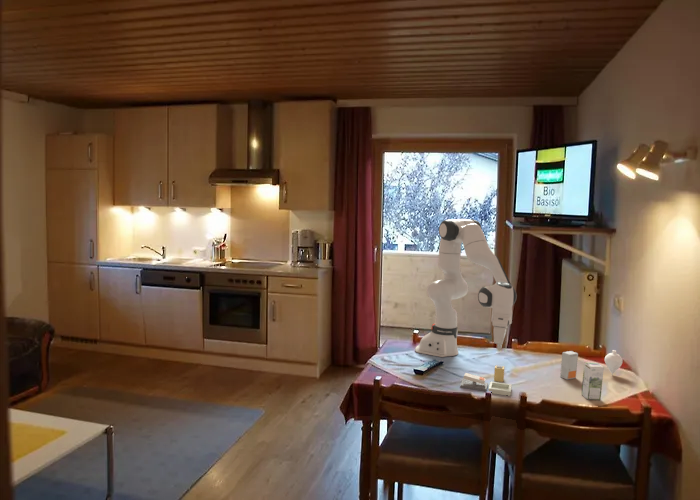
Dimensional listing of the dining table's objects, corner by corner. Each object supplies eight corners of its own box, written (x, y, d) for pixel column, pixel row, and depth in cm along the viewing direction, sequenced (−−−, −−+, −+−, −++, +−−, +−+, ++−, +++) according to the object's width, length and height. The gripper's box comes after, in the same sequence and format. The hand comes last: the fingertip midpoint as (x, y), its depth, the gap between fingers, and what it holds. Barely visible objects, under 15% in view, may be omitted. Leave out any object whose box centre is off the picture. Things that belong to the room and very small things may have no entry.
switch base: (460, 387, 237) (460, 382, 237) (462, 381, 245) (462, 376, 245) (486, 391, 234) (486, 386, 233) (487, 385, 241) (488, 380, 241)
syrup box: (594, 395, 233) (597, 362, 232) (601, 400, 228) (604, 366, 226) (581, 394, 233) (583, 361, 232) (587, 400, 227) (590, 366, 226)
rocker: (463, 378, 238) (464, 374, 238) (464, 375, 242) (465, 372, 242) (484, 384, 236) (484, 380, 235) (485, 381, 240) (485, 377, 239)
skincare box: (567, 380, 251) (569, 354, 250) (559, 377, 255) (561, 352, 254) (576, 378, 254) (578, 353, 253) (569, 375, 258) (571, 350, 257)
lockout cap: (493, 380, 247) (494, 367, 246) (494, 378, 251) (495, 364, 250) (503, 382, 246) (503, 368, 245) (503, 379, 250) (504, 365, 249)
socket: (488, 392, 232) (488, 388, 232) (490, 385, 240) (490, 381, 240) (510, 396, 229) (510, 391, 229) (511, 388, 238) (511, 384, 237)
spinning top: (606, 371, 266) (609, 347, 264) (623, 375, 260) (625, 350, 259) (600, 374, 260) (602, 350, 259) (617, 379, 255) (619, 353, 254)
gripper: (496, 312, 256) (494, 341, 257) (492, 322, 236) (489, 353, 238) (510, 314, 253) (508, 343, 255) (507, 324, 234) (504, 355, 236)
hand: (499, 348), depth 246 cm, fingers closed
